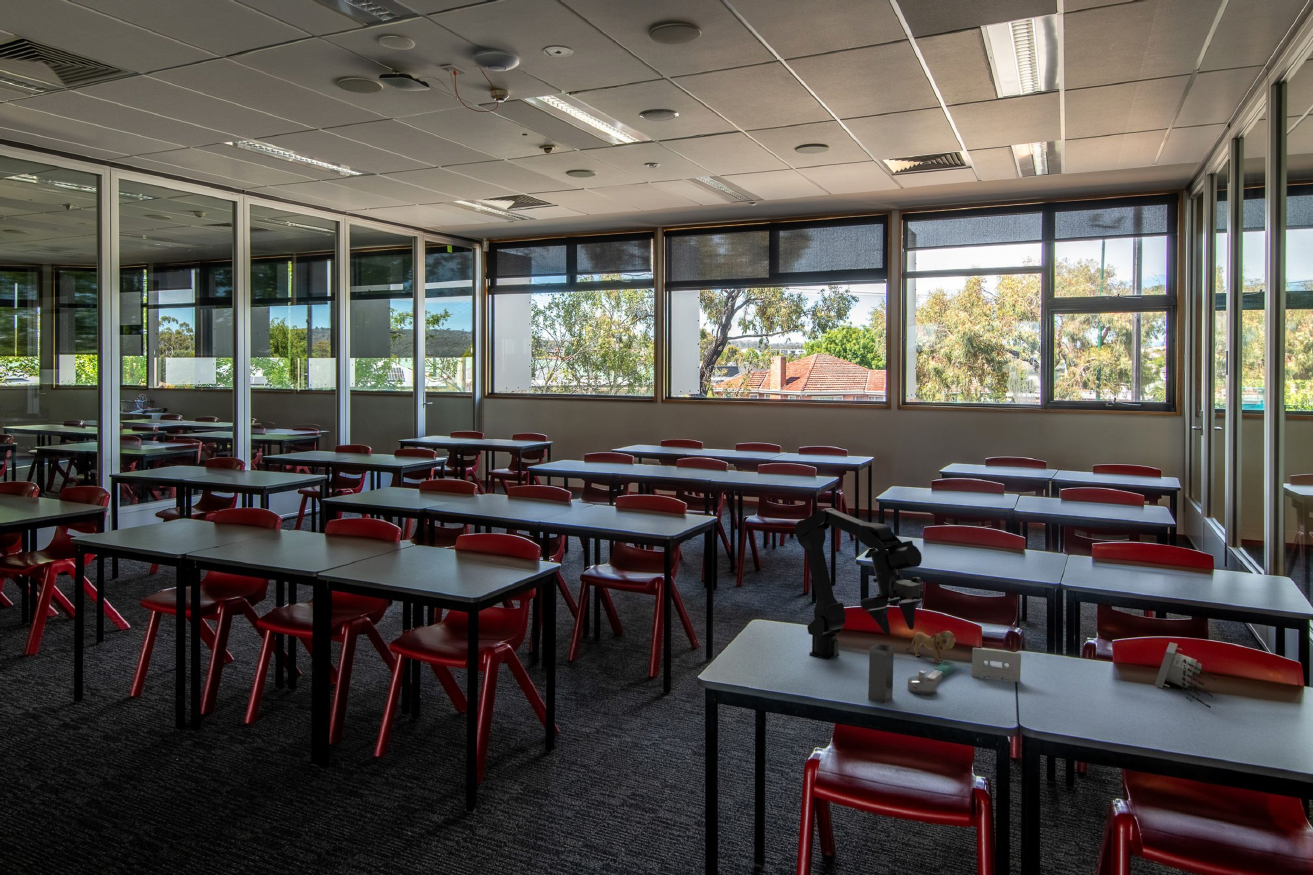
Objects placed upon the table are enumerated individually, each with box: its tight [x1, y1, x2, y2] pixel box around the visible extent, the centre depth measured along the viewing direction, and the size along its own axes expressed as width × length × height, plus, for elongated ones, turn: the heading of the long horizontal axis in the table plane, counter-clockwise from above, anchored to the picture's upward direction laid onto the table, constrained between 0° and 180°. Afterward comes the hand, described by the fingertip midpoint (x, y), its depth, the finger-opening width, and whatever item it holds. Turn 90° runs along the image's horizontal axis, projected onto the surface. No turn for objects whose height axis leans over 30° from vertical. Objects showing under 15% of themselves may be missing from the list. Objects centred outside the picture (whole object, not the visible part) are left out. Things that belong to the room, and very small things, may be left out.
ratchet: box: [907, 660, 955, 697], centre depth 218 cm, size 7×24×5 cm, turn 142°
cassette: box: [970, 647, 1022, 683], centre depth 220 cm, size 12×2×8 cm, turn 69°
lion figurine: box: [905, 630, 957, 664], centre depth 236 cm, size 15×5×9 cm, turn 45°
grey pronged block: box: [1154, 641, 1217, 709], centre depth 209 cm, size 27×11×10 cm, turn 179°
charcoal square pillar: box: [867, 643, 895, 704], centre depth 205 cm, size 4×4×13 cm
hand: (900, 632), depth 215 cm, fingers open, 9 cm apart
